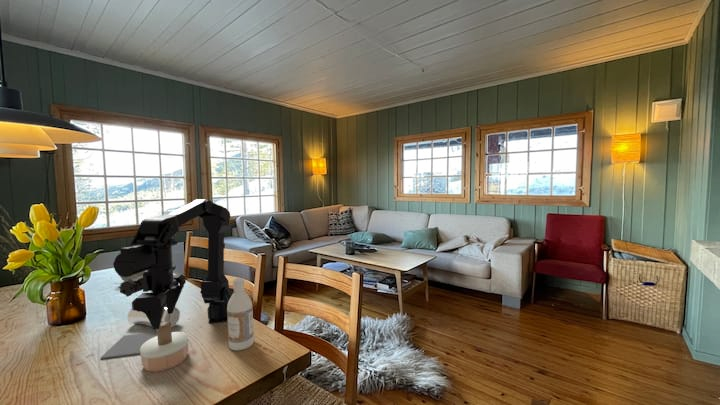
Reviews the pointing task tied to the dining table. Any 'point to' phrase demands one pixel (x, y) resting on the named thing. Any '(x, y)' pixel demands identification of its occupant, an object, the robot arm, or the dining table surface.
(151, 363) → the bowl
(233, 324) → the bath foam
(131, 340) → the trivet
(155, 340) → the lid
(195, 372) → the dining table surface
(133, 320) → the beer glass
